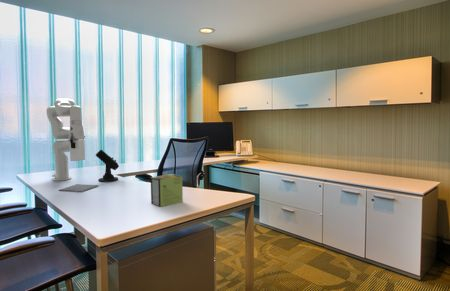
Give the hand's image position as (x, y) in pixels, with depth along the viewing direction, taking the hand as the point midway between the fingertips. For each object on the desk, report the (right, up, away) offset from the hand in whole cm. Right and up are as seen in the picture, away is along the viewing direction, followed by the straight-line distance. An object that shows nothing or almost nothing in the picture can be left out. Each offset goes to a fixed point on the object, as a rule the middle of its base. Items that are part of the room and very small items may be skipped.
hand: (77, 147), depth 214 cm
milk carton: (0, -10, +1) cm, 10 cm away
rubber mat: (+3, -29, -4) cm, 29 cm away
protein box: (+72, -32, -40) cm, 89 cm away
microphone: (+12, -27, +25) cm, 39 cm away
